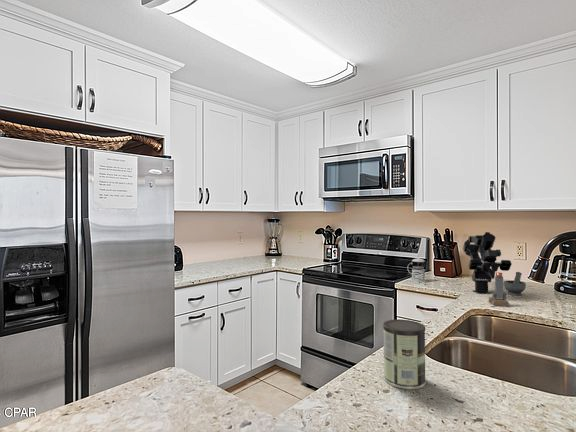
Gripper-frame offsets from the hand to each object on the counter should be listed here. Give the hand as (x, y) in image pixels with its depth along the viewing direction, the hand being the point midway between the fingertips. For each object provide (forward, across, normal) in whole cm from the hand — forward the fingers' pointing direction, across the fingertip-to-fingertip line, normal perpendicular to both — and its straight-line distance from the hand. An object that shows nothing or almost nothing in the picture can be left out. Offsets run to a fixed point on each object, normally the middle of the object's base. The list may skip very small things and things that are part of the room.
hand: (493, 278), depth 174 cm
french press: (-26, -31, +42) cm, 58 cm away
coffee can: (+79, -50, -62) cm, 112 cm away
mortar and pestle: (-5, +16, +22) cm, 27 cm away
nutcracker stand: (+13, 0, +3) cm, 13 cm away
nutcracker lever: (+12, 0, 0) cm, 12 cm away
